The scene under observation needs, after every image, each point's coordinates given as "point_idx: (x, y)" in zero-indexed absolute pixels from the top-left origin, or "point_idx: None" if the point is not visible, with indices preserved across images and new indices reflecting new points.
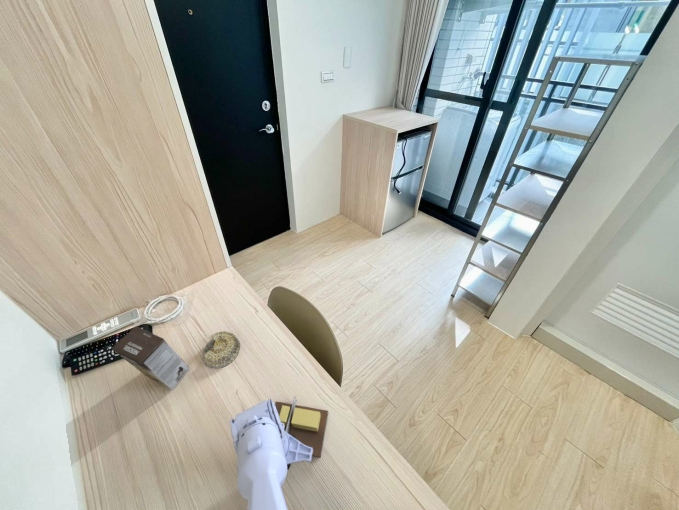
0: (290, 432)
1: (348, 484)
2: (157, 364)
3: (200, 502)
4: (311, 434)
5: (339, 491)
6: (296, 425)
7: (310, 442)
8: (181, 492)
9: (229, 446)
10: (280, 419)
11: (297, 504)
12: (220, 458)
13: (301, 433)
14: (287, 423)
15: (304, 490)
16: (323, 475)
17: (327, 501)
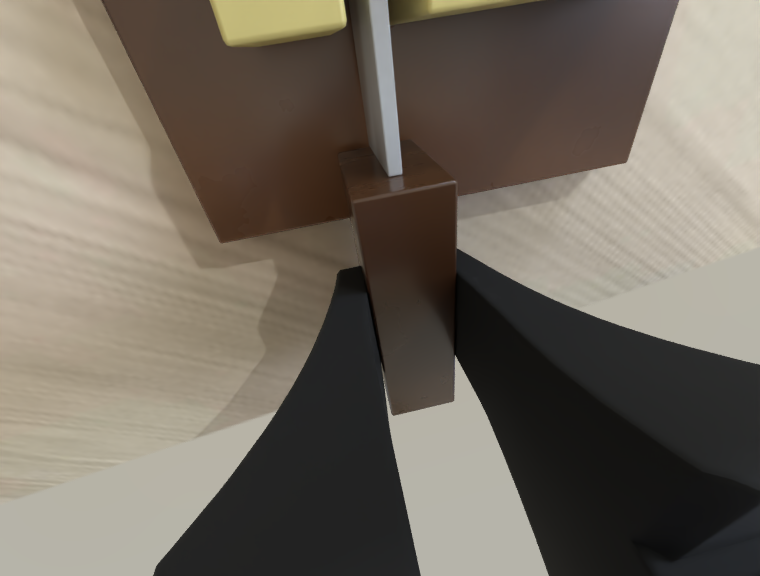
0: None
1: (726, 210)
2: None
3: (134, 455)
4: (571, 33)
5: (676, 246)
6: (471, 9)
7: (564, 102)
8: (28, 470)
9: (14, 306)
10: (251, 12)
11: None
12: (38, 358)
13: (481, 56)
14: (375, 34)
15: None
16: (612, 222)
17: (619, 288)
